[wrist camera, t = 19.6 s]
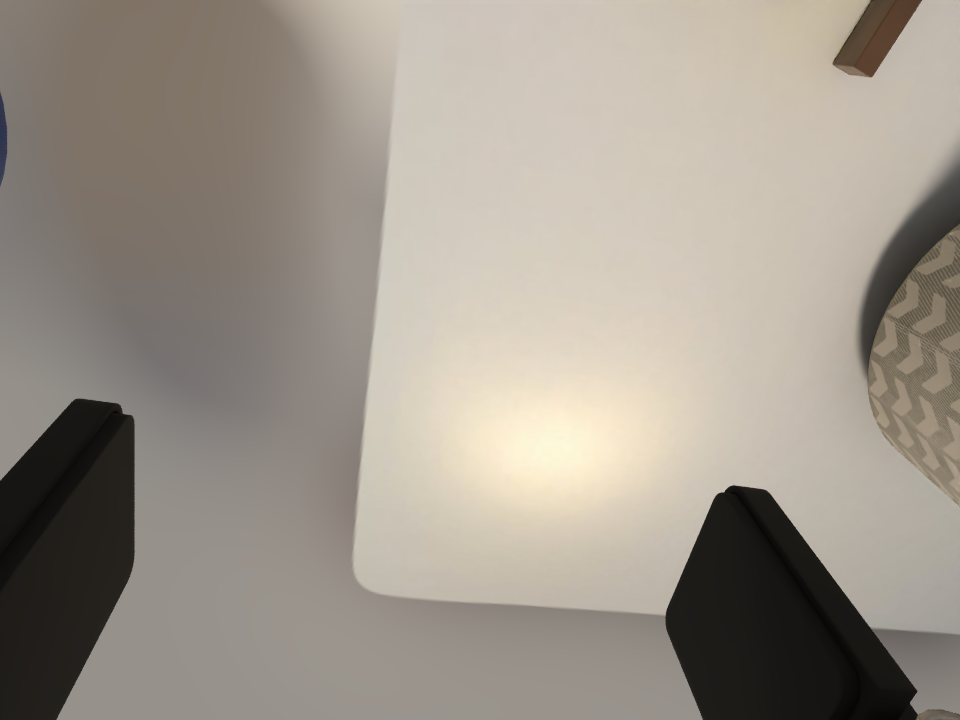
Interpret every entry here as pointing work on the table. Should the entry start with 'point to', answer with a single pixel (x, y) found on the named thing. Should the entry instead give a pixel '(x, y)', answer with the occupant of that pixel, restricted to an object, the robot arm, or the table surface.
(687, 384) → the table surface
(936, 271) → the planter
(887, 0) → the bay
